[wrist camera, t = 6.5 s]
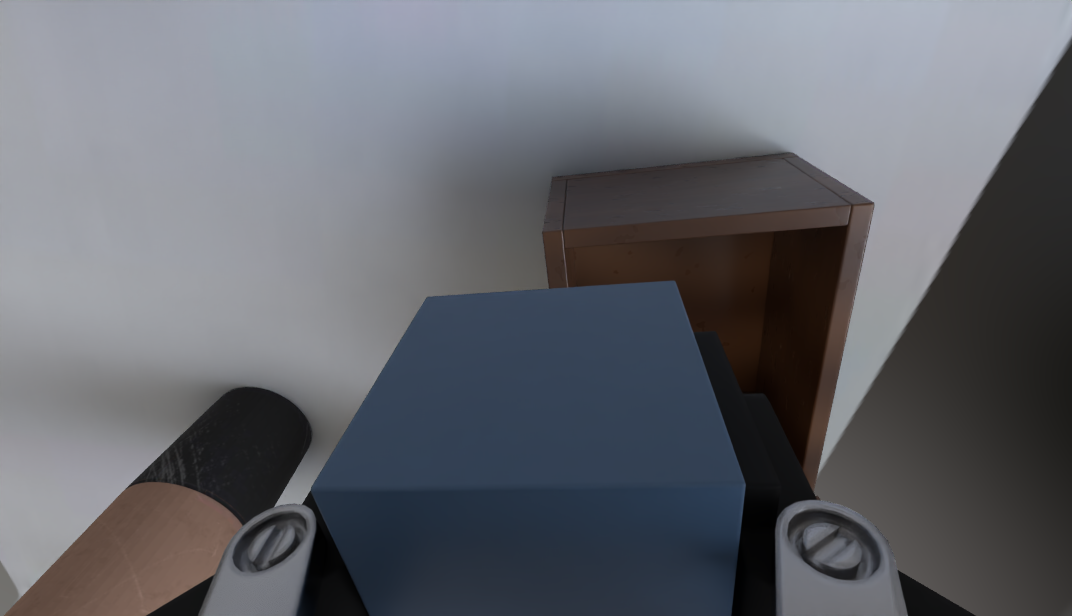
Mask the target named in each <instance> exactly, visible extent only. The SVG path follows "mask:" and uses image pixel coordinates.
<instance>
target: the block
mask: <svg viewBox="0 0 1072 616" xmlns="http://www.w3.org/2000/svg"><path fill="white" fill-rule="evenodd" d="M745 486H746V484H745V481H744V478H743V475H742V472H741V469H740V466H739V463H738V461H737V458H736V455H735V452H734V449H733V446H732V443H731V440H730V437H729V435H728V432H727V429H726V426H725V423H724V420H723V417H722V414H721V411H720V409H719V406H718V403H717V400H716V397H715V394H714V391H713V388H712V385H711V383H710V380H709V377H708V374H707V371H706V368H705V365H704V362H703V359H702V357H701V354H700V351H699V348H698V345H697V342H696V339H695V336H694V334H693V331H692V328H691V325H690V322H689V319H688V316H687V313H686V310H685V308H684V305H683V302H682V299H681V296H680V293H679V290H678V287H677V284H676V282H675V281H659V282H644V283H629V284H613V285H598V286H583V287H568V288H553V289H538V290H523V291H508V292H493V293H477V294H462V295H447V296H432V297H427V298H426V299H425V301H424V302H423V304H422V306H421V307H420V309H419V310H418V312H417V314H416V315H415V317H414V319H413V320H412V322H411V324H410V325H409V327H408V329H407V330H406V332H405V334H404V335H403V337H402V339H401V340H400V342H399V343H398V345H397V347H396V348H395V350H394V352H393V353H392V355H391V357H390V358H389V360H388V362H387V363H386V365H385V367H384V368H383V370H382V372H381V373H380V375H379V376H378V378H377V380H376V381H375V383H374V385H373V386H372V388H371V390H370V391H369V393H368V395H367V396H366V398H365V400H364V401H363V403H362V405H361V406H360V408H359V409H358V411H357V413H356V414H355V416H354V418H353V419H352V421H351V423H350V424H349V426H348V428H347V429H346V431H345V433H344V434H343V436H342V437H341V439H340V441H339V442H338V444H337V446H336V447H335V449H334V451H333V452H332V454H331V456H330V457H329V459H328V461H327V462H326V464H325V466H324V467H323V469H322V470H321V472H320V474H319V475H318V477H317V479H316V480H315V482H314V484H313V485H312V487H311V493H312V495H313V498H314V500H315V502H316V504H317V506H318V508H319V510H320V512H321V514H322V517H323V519H324V521H325V523H326V525H327V527H328V529H329V531H330V534H331V536H332V538H333V540H334V542H335V544H336V546H337V548H338V551H339V553H340V555H341V557H342V559H343V561H344V563H345V565H346V568H347V570H348V572H349V574H350V576H351V578H352V580H353V582H354V585H355V587H356V589H357V591H358V593H359V595H360V597H361V599H362V601H363V604H364V606H365V608H366V610H367V612H368V614H369V616H731V613H732V604H733V595H734V586H735V577H736V568H737V558H738V549H739V540H740V531H741V522H742V513H743V504H744V495H745Z"/></svg>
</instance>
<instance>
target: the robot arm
mask: <svg viewBox="0 0 1072 616" xmlns="http://www.w3.org/2000/svg"><path fill="white" fill-rule="evenodd" d="M693 334H694V336H695V339H696V342H697V345H698V348H699V351H700V354H701V357H702V359H703V362H704V365H705V368H706V371H707V374H708V377H709V380H710V383H711V385H712V388H713V391H714V394H715V397H716V400H717V403H718V406H719V409H720V411H721V414H722V417H723V420H724V423H725V426H726V429H727V432H728V435H729V437H730V440H731V443H732V446H733V449H734V452H735V455H736V458H737V461H738V463H739V466H740V469H741V472H742V475H743V478H744V481H745V484H746V486H745V495H744V504H743V513H742V522H741V531H740V540H739V549H738V558H737V568H736V577H735V586H734V595H733V604H732V613H731V616H975V615H974V614H972V613H970V612H969V611H967V610H965V609H963V608H962V607H960V606H958V605H957V604H955V603H953V602H951V601H950V600H948V599H946V598H945V597H943V596H941V595H939V594H938V593H936V592H934V591H933V590H931V589H929V588H928V587H926V586H924V585H922V584H921V583H919V582H917V581H916V580H914V579H912V578H910V577H908V576H907V575H905V574H903V573H902V572H900V571H898V570H897V566H896V562H895V558H894V555H893V552H892V550H891V547H890V545H889V543H888V541H887V539H886V538H885V537H884V536H883V534H882V533H881V532H880V531H879V529H878V528H877V527H876V526H875V525H873V524H872V523H871V522H869V521H868V520H867V519H866V518H865V517H863V516H862V515H860V514H858V513H856V512H854V511H853V510H851V509H849V508H847V507H845V506H842V505H838V504H835V503H831V502H828V501H820V500H817V499H816V496H815V494H814V492H813V490H812V488H811V486H810V484H809V482H808V480H807V478H806V476H805V474H804V472H803V470H802V468H801V466H800V464H799V461H798V459H797V457H796V455H795V453H794V451H793V449H792V447H791V445H790V443H789V441H788V439H787V437H786V435H785V433H784V431H783V428H782V426H781V424H780V422H779V420H778V418H777V416H776V414H775V412H774V410H773V408H772V406H771V404H770V402H769V400H768V398H767V397H766V395H764V394H763V393H756V394H742V391H741V389H740V387H739V384H738V382H737V379H736V377H735V375H734V372H733V370H732V368H731V365H730V363H729V360H728V358H727V356H726V353H725V351H724V349H723V346H722V344H721V342H720V339H719V337H718V334H717V333H716V331H707V332H693ZM146 616H369V614H368V612H367V610H366V608H365V606H364V604H363V601H362V599H361V597H360V595H359V593H358V591H357V589H356V587H355V585H354V582H353V580H352V578H351V576H350V574H349V572H348V570H347V568H346V565H345V563H344V561H343V559H342V557H341V555H340V553H339V551H338V548H337V546H336V544H335V542H334V540H333V538H332V536H331V534H330V531H329V529H328V527H327V525H326V523H325V521H324V519H323V517H322V514H321V512H320V510H319V508H318V506H317V504H316V502H315V500H314V498H313V495H312V493H311V491H310V492H309V494H308V496H307V497H306V499H305V501H304V502H303V504H302V505H300V504H286V505H280V506H277V507H274V508H271V509H268V510H266V511H264V512H263V513H261V514H259V515H257V516H255V517H254V518H252V519H251V520H250V521H249V522H247V523H246V524H245V525H244V526H242V527H241V528H240V529H239V530H238V532H237V533H236V534H235V535H234V536H233V537H232V538H231V540H230V542H229V543H228V545H227V547H226V549H225V550H224V553H223V555H222V558H221V560H220V562H219V565H218V567H217V570H216V572H215V574H214V575H213V576H211V577H209V578H208V579H206V580H204V581H203V582H201V583H199V584H198V585H196V586H194V587H193V588H191V589H189V590H188V591H186V592H184V593H183V594H181V595H179V596H178V597H176V598H174V599H173V600H171V601H169V602H168V603H166V604H164V605H163V606H161V607H159V608H158V609H156V610H154V611H153V612H151V613H149V614H148V615H146Z"/></svg>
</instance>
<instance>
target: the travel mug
mask: <svg viewBox="0 0 1072 616" xmlns="http://www.w3.org/2000/svg"><path fill="white" fill-rule="evenodd" d="M310 442H311V429H310V426H309V423H308V421H307V419H306V418H305V416H304V415H303V413H302V412H301V411H300V410H299V409H298V408H297V407H296V406H295V405H294V404H292V403H291V402H290V401H288V400H287V399H285V398H283V397H282V396H280V395H278V394H275V393H273V392H270V391H267V390H264V389H259V388H239V389H235V390H232V391H230V392H228V393H226V394H225V395H223V396H222V397H221V398H220V399H219V400H218V401H216V402H215V403H214V404H213V405H212V406H211V407H210V408H209V409H208V410H207V411H206V412H205V413H204V414H203V415H202V416H201V417H200V418H199V419H198V420H197V421H196V422H194V423H193V424H192V425H191V426H190V427H189V428H188V429H187V430H186V431H185V432H184V433H183V434H182V435H181V436H180V437H179V438H178V439H177V440H176V441H175V442H174V443H173V444H172V445H171V446H170V447H169V448H168V449H167V450H165V451H164V452H163V453H162V454H161V455H160V456H159V457H158V458H157V459H156V460H155V461H154V462H153V463H152V464H151V465H150V466H149V467H148V468H147V469H146V470H145V471H144V472H143V473H142V474H141V475H140V476H139V477H138V478H136V479H135V480H134V481H133V482H132V483H131V484H130V485H129V486H128V487H127V488H126V489H125V490H124V491H123V492H122V493H121V494H120V495H119V496H118V497H117V498H116V499H115V500H114V501H113V502H112V504H111V505H110V506H109V507H108V508H107V509H106V510H105V511H104V512H103V513H102V514H101V515H100V516H99V517H98V518H97V519H96V520H95V521H94V522H93V523H92V524H91V525H90V526H89V527H88V528H87V530H86V531H85V532H84V533H83V534H82V535H81V536H80V537H79V538H78V539H77V540H76V541H75V542H74V543H73V544H72V545H71V546H70V547H69V548H68V549H67V550H66V551H65V552H64V553H63V555H62V556H61V557H60V558H59V559H58V560H57V561H56V562H55V563H54V564H53V565H52V566H51V567H50V568H49V569H48V570H47V571H46V572H45V573H44V574H43V575H42V576H41V577H40V578H39V580H38V581H37V582H36V583H35V584H34V585H33V586H32V587H31V588H30V589H29V590H28V591H27V592H26V593H25V594H24V595H23V596H22V597H21V598H20V599H19V600H18V601H17V602H16V603H15V605H14V606H13V607H12V608H11V609H10V610H9V611H8V612H7V613H6V614H5V615H4V616H146V615H148V614H149V613H151V612H153V611H154V610H156V609H158V608H159V607H161V606H163V605H164V604H166V603H168V602H169V601H171V600H173V599H174V598H176V597H178V596H179V595H181V594H183V593H184V592H186V591H188V590H189V589H191V588H193V587H194V586H196V585H198V584H199V583H201V582H203V581H204V580H206V579H208V578H209V577H211V576H213V575H214V574H215V572H216V570H217V567H218V565H219V562H220V560H221V558H222V555H223V553H224V550H225V549H226V547H227V545H228V543H229V542H230V540H231V538H232V537H233V536H234V535H235V534H236V533H237V532H238V530H239V529H240V528H241V527H242V526H244V525H245V524H246V523H247V522H249V521H250V520H251V519H252V518H254V517H255V516H257V515H259V514H261V513H263V512H264V511H266V510H268V509H271V508H274V506H275V504H276V503H277V501H278V499H279V498H280V496H281V494H282V493H283V491H284V489H285V487H286V486H287V484H288V482H289V481H290V479H291V477H292V476H293V474H294V472H295V471H296V469H297V467H298V465H299V464H300V462H301V460H302V458H303V457H304V455H305V453H306V451H307V450H308V448H309V445H310Z"/></svg>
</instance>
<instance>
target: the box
mask: <svg viewBox="0 0 1072 616" xmlns="http://www.w3.org/2000/svg"><path fill="white" fill-rule="evenodd" d="M873 210H874V202H872V201H870V200H869V199H867V198H865V197H864V196H862V195H860V194H859V193H857V192H856V191H854V190H852V189H851V188H849V187H847V186H846V185H844V184H842V183H841V182H839V181H838V180H836V179H834V178H833V177H831V176H829V175H828V174H826V173H825V172H823V171H821V170H820V169H818V168H816V167H815V166H813V165H811V164H810V163H808V162H807V161H805V160H803V159H802V158H800V157H799V156H797V155H796V154H794V153H786V154H776V155H766V156H756V157H746V158H736V159H726V160H717V161H707V162H697V163H687V164H677V165H667V166H657V167H647V168H637V169H628V170H618V171H608V172H598V173H588V174H578V175H568V176H558V177H552V182H551V188H550V193H549V199H548V204H547V210H546V215H545V221H544V226H543V232H542V235H543V243H544V251H545V259H546V267H547V276H548V284H549V289H553V288H568V287H583V286H598V285H613V284H629V283H644V282H659V281H675V282H676V284H677V287H678V290H679V293H680V296H681V299H682V302H683V305H684V308H685V310H686V313H687V316H688V319H689V322H690V325H691V328H692V331H693V332H707V331H716V333H717V334H718V337H719V339H720V342H721V344H722V346H723V349H724V351H725V353H726V356H727V358H728V360H729V363H730V365H731V368H732V370H733V372H734V375H735V377H736V379H737V382H738V384H739V387H740V389H741V391H742V394H756V393H763V394H764V395H766V397H767V398H768V400H769V402H770V404H771V406H772V408H773V410H774V412H775V414H776V416H777V418H778V420H779V422H780V424H781V426H782V428H783V431H784V433H785V435H786V437H787V439H788V441H789V443H790V445H791V447H792V449H793V451H794V453H795V455H796V457H797V459H798V461H799V464H800V466H801V468H802V470H803V472H804V474H805V476H806V478H807V480H808V482H809V484H810V486H811V488H812V490H813V492H814V488H815V483H816V479H817V474H818V469H819V464H820V460H821V455H822V450H823V446H824V441H825V436H826V431H827V427H828V422H829V417H830V412H831V408H832V403H833V398H834V394H835V389H836V384H837V379H838V375H839V370H840V365H841V361H842V356H843V351H844V346H845V342H846V337H847V332H848V328H849V323H850V318H851V313H852V309H853V304H854V299H855V295H856V290H857V285H858V280H859V276H860V271H861V266H862V262H863V257H864V252H865V247H866V243H867V238H868V233H869V229H870V224H871V219H872V214H873Z"/></svg>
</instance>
